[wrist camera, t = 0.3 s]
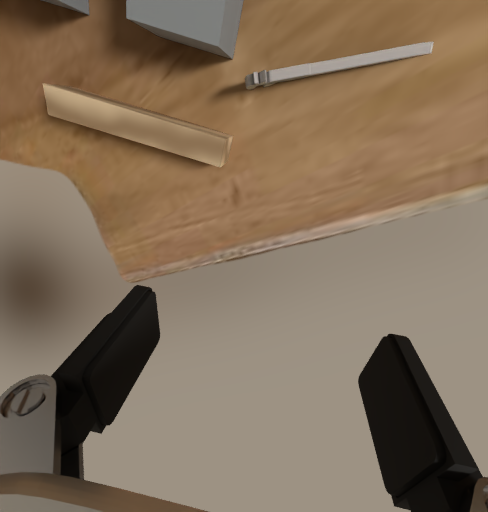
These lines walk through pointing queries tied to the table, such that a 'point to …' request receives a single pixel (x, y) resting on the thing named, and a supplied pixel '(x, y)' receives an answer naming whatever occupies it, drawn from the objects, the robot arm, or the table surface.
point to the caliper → (336, 65)
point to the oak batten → (138, 124)
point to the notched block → (182, 20)
